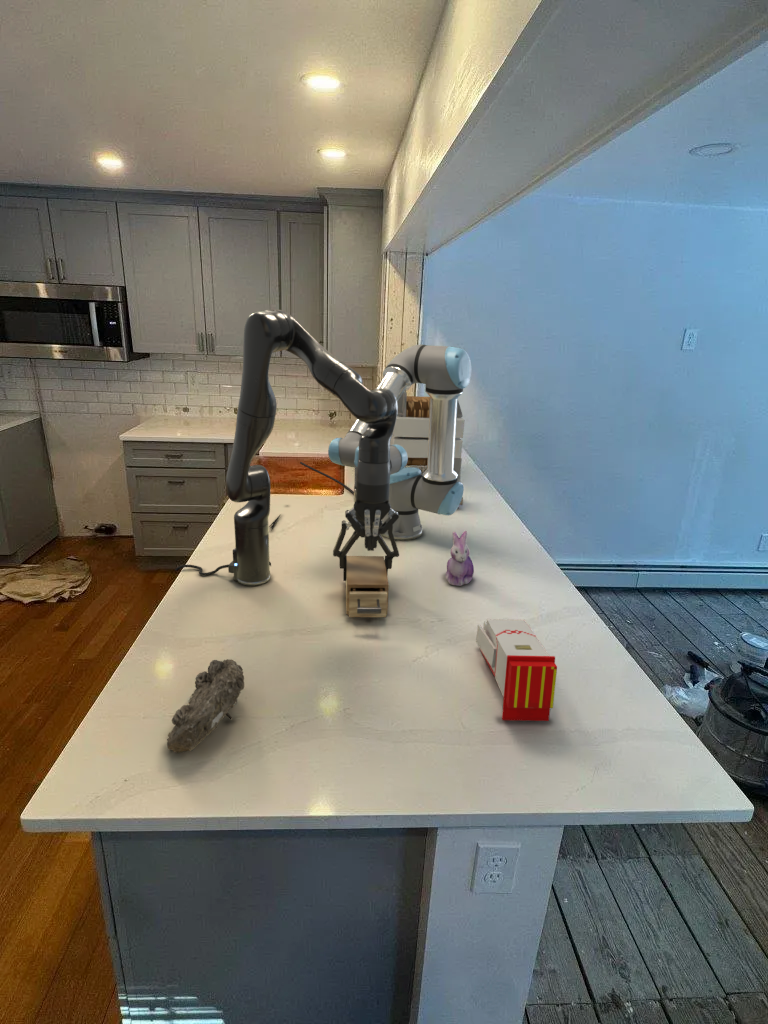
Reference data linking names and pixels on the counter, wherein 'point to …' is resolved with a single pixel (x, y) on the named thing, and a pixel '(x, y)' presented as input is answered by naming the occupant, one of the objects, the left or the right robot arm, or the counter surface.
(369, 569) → the cabinet
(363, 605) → the drawer
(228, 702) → the fossil
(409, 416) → the white crate
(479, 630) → the toy
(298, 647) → the counter surface
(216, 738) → the counter surface
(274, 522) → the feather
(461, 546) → the figurine
